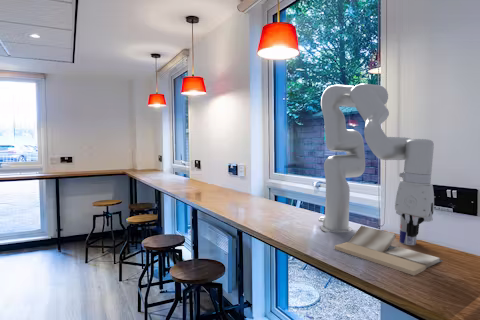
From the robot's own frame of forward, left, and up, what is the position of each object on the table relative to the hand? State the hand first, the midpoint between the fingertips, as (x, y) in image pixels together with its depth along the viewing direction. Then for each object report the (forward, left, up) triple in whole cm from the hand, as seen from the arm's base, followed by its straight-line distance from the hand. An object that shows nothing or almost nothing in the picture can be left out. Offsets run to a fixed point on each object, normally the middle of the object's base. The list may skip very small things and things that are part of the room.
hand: (412, 235), depth 101 cm
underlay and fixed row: (-5, -6, -8) cm, 11 cm away
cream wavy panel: (+1, -2, -7) cm, 7 cm away
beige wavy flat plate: (-12, -3, -4) cm, 13 cm away
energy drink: (-7, +13, -8) cm, 17 cm away
